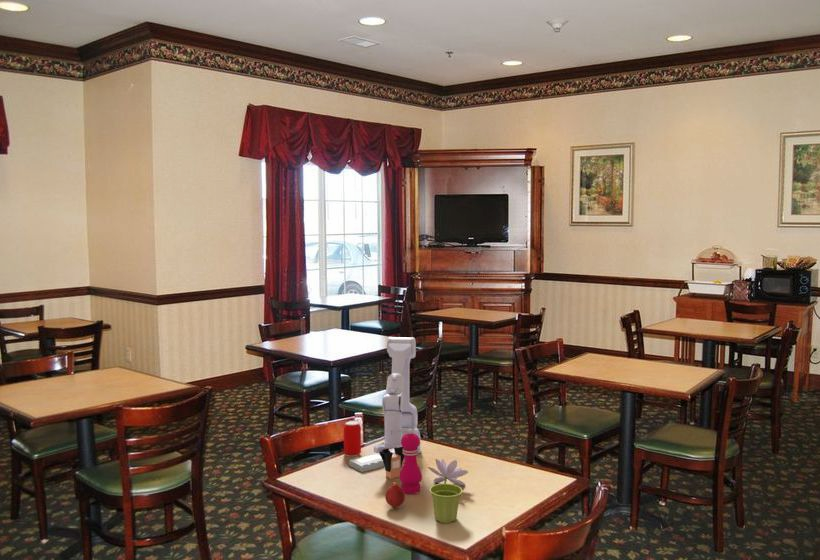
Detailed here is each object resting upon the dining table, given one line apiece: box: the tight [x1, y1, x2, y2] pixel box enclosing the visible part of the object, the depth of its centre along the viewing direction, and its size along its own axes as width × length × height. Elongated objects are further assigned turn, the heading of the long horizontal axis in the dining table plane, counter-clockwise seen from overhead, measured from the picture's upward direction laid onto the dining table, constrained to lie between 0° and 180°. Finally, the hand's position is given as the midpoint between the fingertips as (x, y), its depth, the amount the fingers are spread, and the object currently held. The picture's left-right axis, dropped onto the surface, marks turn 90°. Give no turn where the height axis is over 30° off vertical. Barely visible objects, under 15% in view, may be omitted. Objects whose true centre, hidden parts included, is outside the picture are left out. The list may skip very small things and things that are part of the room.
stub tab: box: [385, 454, 402, 480], centre depth 232 cm, size 4×3×7 cm
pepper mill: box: [398, 429, 423, 495], centre depth 219 cm, size 7×7×20 cm
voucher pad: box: [349, 453, 384, 473], centre depth 243 cm, size 12×8×2 cm, turn 128°
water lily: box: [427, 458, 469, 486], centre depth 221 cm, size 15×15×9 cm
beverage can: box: [343, 420, 362, 458], centre depth 254 cm, size 6×6×12 cm
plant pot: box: [429, 483, 463, 524], centre depth 198 cm, size 9×9×9 cm
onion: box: [384, 482, 406, 510], centre depth 206 cm, size 6×6×8 cm
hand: (393, 469), depth 232 cm, fingers closed on stub tab, 4 cm apart
